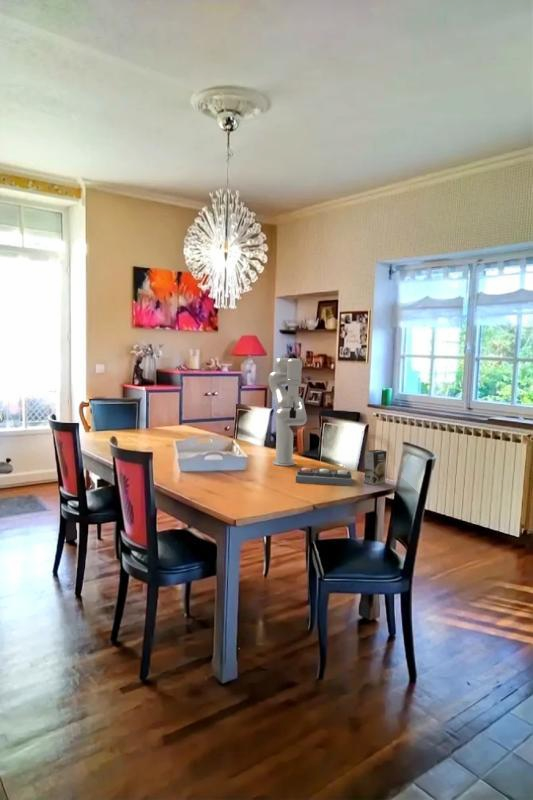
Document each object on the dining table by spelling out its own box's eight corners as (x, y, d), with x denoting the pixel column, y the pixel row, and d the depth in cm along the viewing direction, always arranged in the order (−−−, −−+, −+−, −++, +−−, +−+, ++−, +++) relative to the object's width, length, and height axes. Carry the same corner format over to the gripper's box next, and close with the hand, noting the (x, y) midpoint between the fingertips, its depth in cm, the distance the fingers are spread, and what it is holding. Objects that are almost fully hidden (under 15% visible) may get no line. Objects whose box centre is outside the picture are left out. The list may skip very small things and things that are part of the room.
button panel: (298, 475, 274) (298, 467, 274) (351, 478, 270) (351, 470, 270) (295, 482, 260) (295, 473, 260) (351, 485, 256) (351, 476, 256)
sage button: (319, 472, 268) (319, 468, 268) (329, 472, 267) (329, 468, 267) (318, 474, 263) (319, 470, 263) (329, 475, 262) (329, 471, 262)
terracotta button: (301, 471, 269) (301, 467, 269) (311, 471, 268) (311, 467, 268) (300, 473, 264) (300, 469, 264) (310, 474, 264) (310, 470, 263)
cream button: (337, 473, 267) (337, 469, 266) (347, 474, 266) (347, 470, 266) (337, 475, 262) (337, 471, 261) (347, 476, 261) (347, 472, 261)
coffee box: (373, 485, 258) (375, 452, 257) (363, 482, 263) (365, 450, 262) (385, 482, 264) (387, 450, 263) (375, 480, 269) (376, 448, 267)
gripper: (288, 381, 284) (287, 415, 286) (285, 383, 269) (283, 419, 271) (302, 382, 283) (300, 416, 285) (299, 384, 268) (298, 420, 270)
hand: (292, 417), depth 278 cm, fingers closed
